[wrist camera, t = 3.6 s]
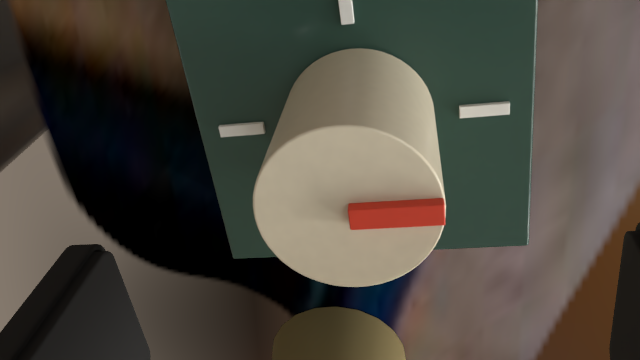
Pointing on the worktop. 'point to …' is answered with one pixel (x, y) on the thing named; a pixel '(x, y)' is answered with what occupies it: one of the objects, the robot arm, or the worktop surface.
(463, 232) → the panel
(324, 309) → the cork
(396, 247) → the grip knob
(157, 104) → the worktop surface
